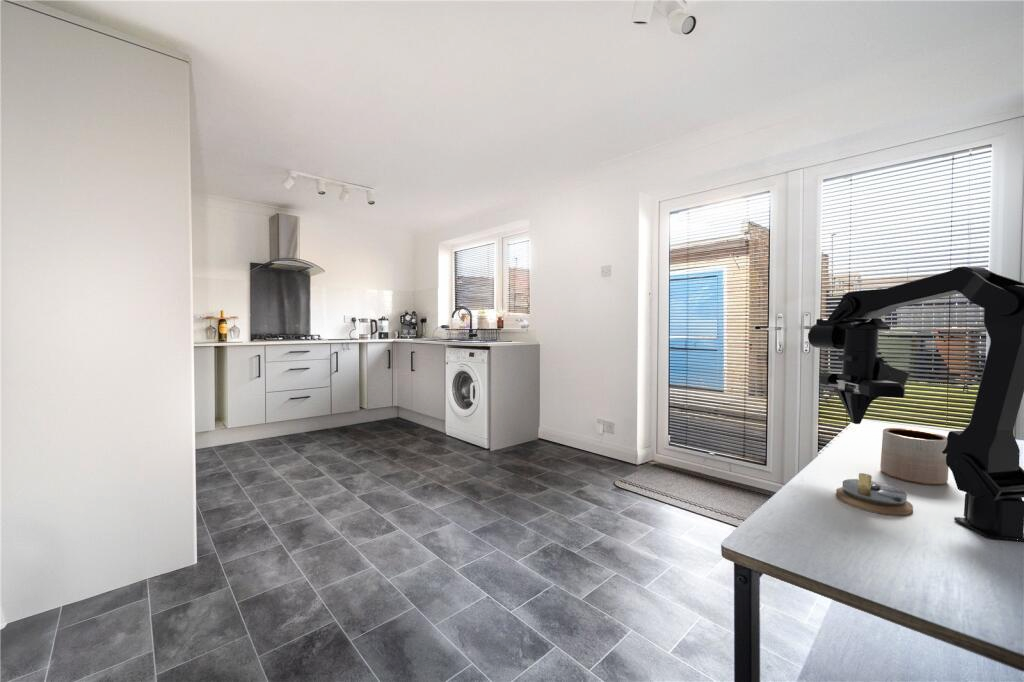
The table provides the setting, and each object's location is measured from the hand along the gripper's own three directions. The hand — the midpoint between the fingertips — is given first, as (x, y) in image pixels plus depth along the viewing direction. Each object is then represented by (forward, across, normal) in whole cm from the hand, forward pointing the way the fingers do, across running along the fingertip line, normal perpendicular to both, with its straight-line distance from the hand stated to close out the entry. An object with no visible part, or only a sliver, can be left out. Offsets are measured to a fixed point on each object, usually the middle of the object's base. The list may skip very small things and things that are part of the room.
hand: (856, 423), depth 92 cm
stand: (+12, -13, +4) cm, 18 cm away
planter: (+12, +4, -14) cm, 19 cm away
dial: (+11, -13, +4) cm, 17 cm away
